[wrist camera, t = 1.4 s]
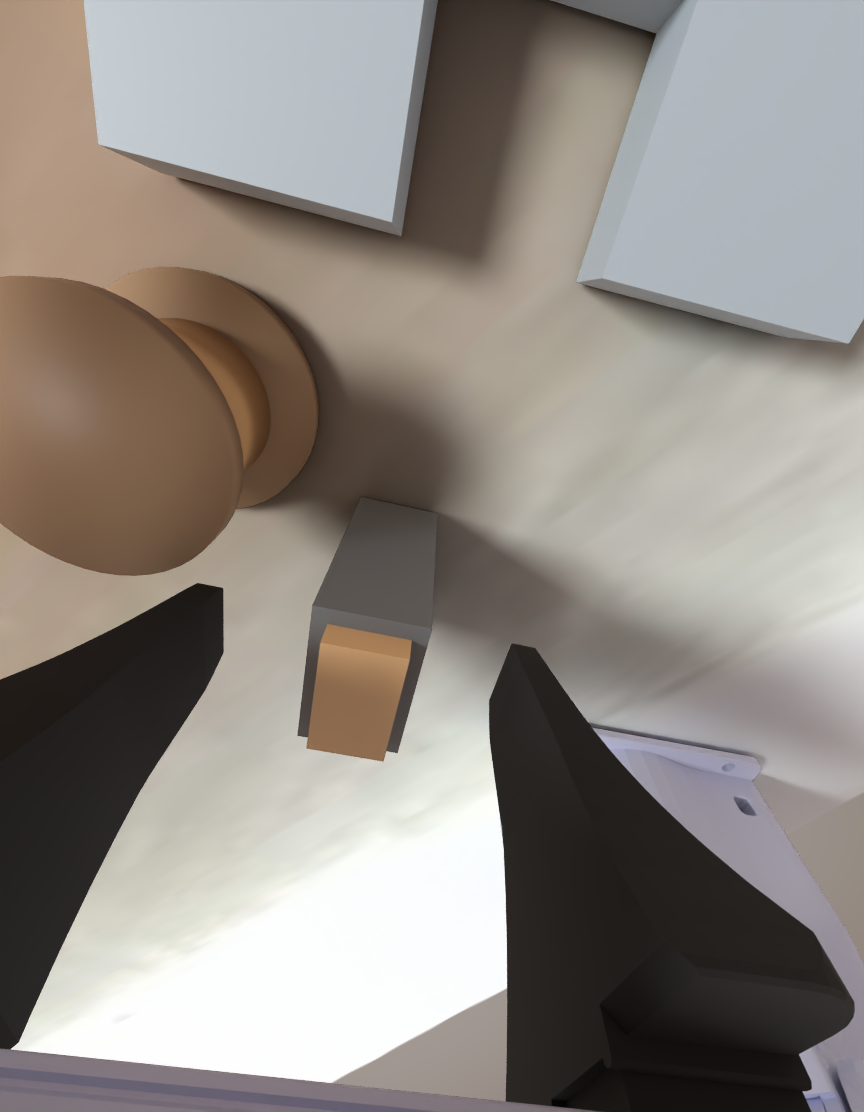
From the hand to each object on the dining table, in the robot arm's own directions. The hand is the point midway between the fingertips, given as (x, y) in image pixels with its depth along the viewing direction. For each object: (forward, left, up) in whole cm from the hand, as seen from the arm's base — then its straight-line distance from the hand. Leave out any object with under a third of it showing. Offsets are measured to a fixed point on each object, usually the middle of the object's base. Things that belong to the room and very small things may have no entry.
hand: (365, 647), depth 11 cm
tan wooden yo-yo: (+6, -4, -5) cm, 8 cm away
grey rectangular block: (0, 0, -5) cm, 5 cm away
